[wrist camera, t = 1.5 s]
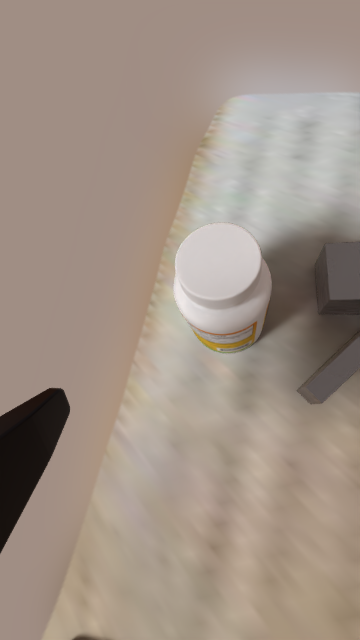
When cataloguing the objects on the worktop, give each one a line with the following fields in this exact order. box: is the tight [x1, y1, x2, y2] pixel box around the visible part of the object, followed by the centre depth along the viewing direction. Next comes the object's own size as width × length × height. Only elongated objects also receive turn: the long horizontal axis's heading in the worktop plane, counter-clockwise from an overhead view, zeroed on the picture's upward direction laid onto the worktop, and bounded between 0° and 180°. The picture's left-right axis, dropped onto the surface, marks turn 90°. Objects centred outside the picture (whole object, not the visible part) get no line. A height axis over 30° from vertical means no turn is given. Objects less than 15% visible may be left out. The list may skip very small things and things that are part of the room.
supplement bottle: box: [174, 222, 272, 354], centre depth 18 cm, size 5×5×10 cm
